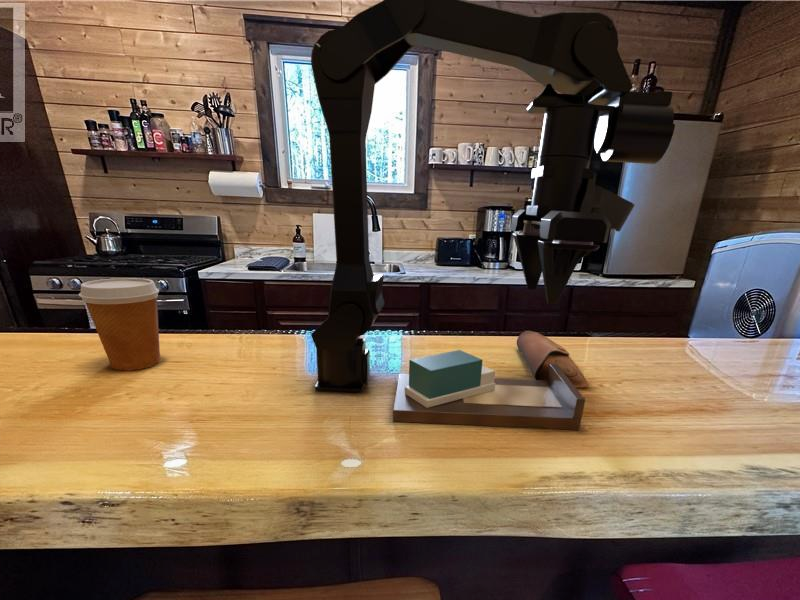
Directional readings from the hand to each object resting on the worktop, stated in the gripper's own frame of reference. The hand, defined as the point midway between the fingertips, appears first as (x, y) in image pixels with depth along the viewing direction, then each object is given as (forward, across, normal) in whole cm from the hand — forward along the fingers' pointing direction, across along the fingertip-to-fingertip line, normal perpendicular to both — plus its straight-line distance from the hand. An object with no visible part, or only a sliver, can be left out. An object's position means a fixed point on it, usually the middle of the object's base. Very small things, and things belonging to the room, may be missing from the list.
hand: (541, 296), depth 55 cm
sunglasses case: (+14, +12, -7) cm, 19 cm away
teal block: (+12, -4, +11) cm, 17 cm away
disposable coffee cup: (+15, +7, +58) cm, 60 cm away
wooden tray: (+14, -4, +7) cm, 16 cm away
